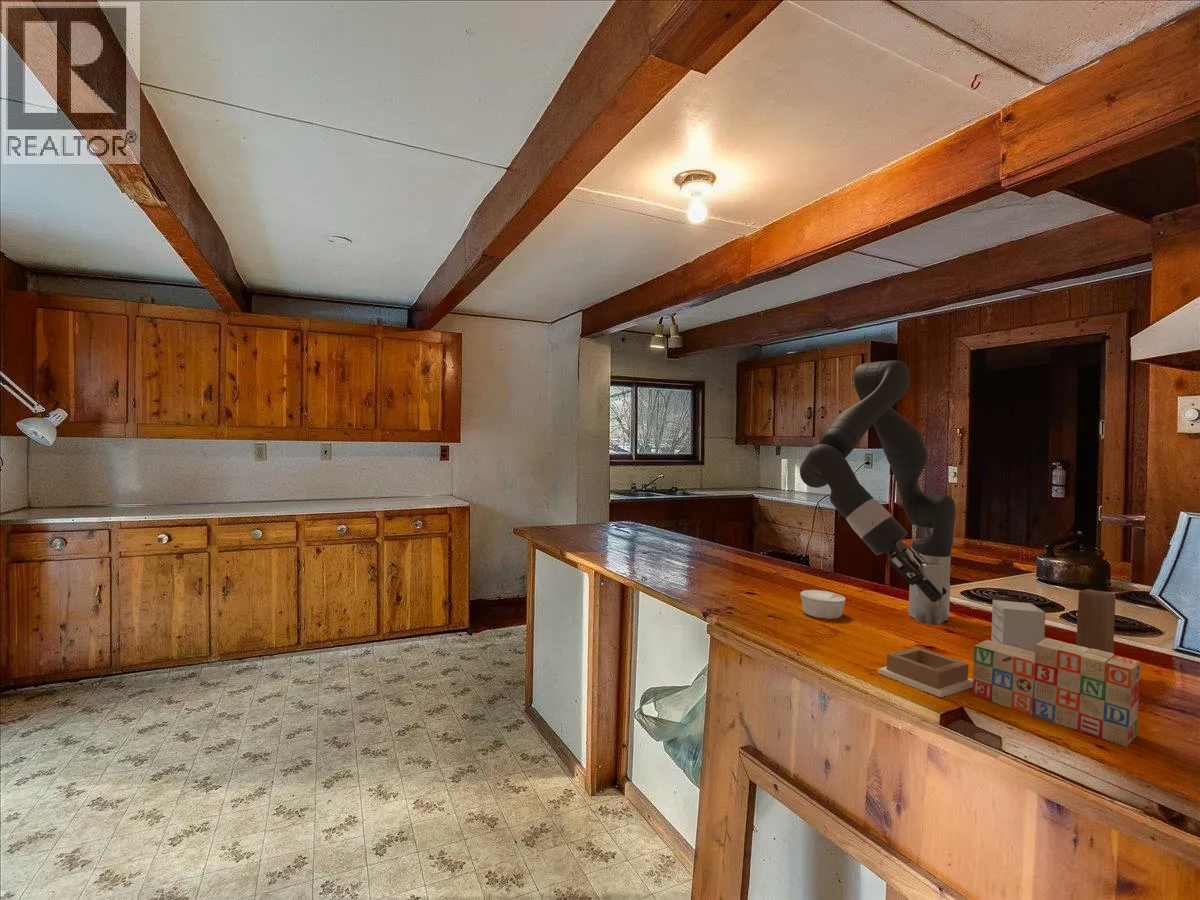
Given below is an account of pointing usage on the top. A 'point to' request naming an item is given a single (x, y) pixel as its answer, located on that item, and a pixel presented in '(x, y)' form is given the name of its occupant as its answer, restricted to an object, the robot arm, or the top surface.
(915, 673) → the cradle
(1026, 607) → the supplement box
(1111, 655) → the stack of blocks
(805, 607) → the ramekin
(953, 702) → the top surface
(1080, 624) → the wooden block
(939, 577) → the axle
